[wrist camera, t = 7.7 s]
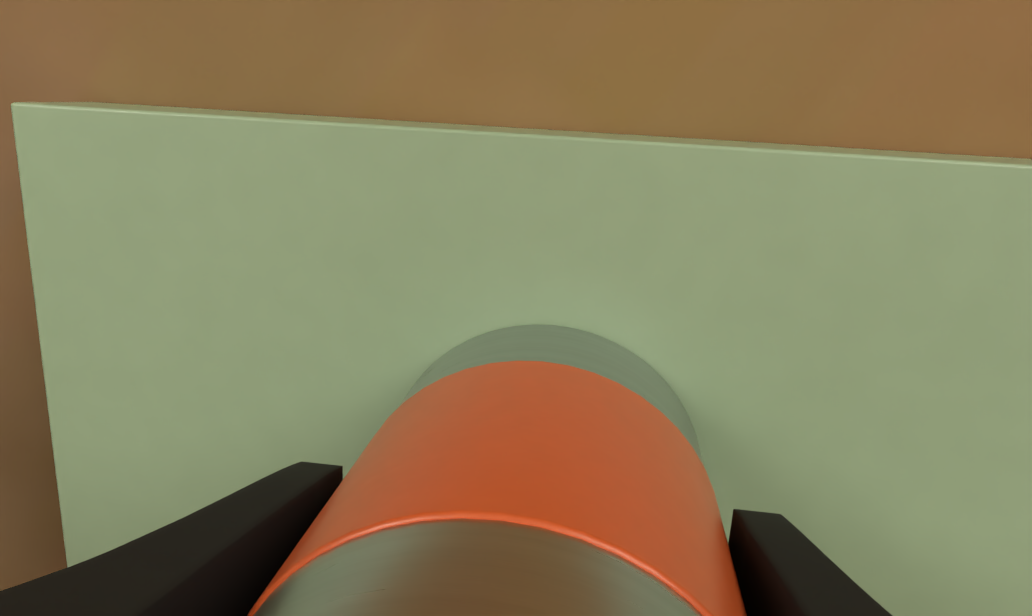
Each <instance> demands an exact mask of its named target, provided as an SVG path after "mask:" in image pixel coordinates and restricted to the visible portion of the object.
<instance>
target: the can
mask: <svg viewBox="0 0 1032 616" xmlns="http://www.w3.org/2000/svg"><path fill="white" fill-rule="evenodd" d="M247 616H747V614H746V610H745V607H744V603H743V599H742V595H741V591H740V588H739V584H738V580H737V576H736V572H735V569H734V565H733V561H732V557H731V553H730V550H729V546H728V542H727V538H726V534H725V531H724V527H723V523H722V519H721V515H720V511H719V508H718V504H717V500H716V496H715V492H714V490H713V487H712V485H711V482H710V480H709V477H708V474H707V472H706V469H705V468H704V464H703V460H702V456H701V452H700V449H699V445H698V441H697V437H696V433H695V431H694V428H693V426H692V423H691V421H690V418H689V416H688V414H687V412H686V410H685V409H684V407H683V405H682V403H681V401H680V400H679V398H678V397H677V395H676V394H675V393H674V391H673V390H672V389H671V387H670V386H669V385H668V384H667V382H666V381H665V380H664V379H663V378H662V377H661V376H660V375H659V374H658V373H657V372H656V371H655V370H654V369H653V368H652V367H651V366H650V365H648V364H647V363H646V362H644V361H643V360H642V359H640V358H639V357H638V356H637V355H635V354H634V353H632V352H630V351H629V350H627V349H625V348H624V347H622V346H620V345H618V344H617V343H615V342H612V341H610V340H608V339H605V338H603V337H601V336H598V335H596V334H593V333H589V332H586V331H582V330H578V329H575V328H569V327H562V326H556V325H522V326H513V327H507V328H503V329H498V330H494V331H490V332H487V333H485V334H482V335H479V336H477V337H474V338H471V339H469V340H467V341H466V342H464V343H462V344H460V345H458V346H456V347H455V348H453V349H451V350H450V351H449V352H447V353H446V354H445V355H443V356H442V357H440V358H439V359H438V360H436V361H435V362H434V363H433V364H432V365H431V366H430V367H429V368H428V369H427V370H426V371H425V372H424V373H423V374H422V376H421V377H420V378H419V380H418V381H417V382H416V383H415V385H414V386H413V387H412V389H411V390H410V391H409V393H408V394H407V396H406V397H405V399H404V400H403V401H402V403H401V404H400V406H399V407H398V409H397V410H395V411H394V412H393V413H392V414H391V415H390V416H389V417H388V419H387V420H386V421H385V422H384V424H383V425H382V426H381V428H380V429H379V430H378V431H377V433H376V434H375V435H374V437H373V438H372V440H371V441H370V442H369V444H368V445H367V447H366V448H365V449H364V451H363V452H362V454H361V455H360V457H359V458H358V459H357V461H356V462H355V464H354V465H353V466H352V468H351V469H350V471H349V472H348V473H347V475H346V476H345V478H344V479H343V480H342V482H341V483H340V485H339V486H338V487H337V489H336V490H335V492H334V493H333V495H332V496H331V497H330V499H329V500H328V502H327V503H326V504H325V506H324V507H323V509H322V510H321V511H320V513H319V514H318V516H317V517H316V518H315V520H314V521H313V523H312V524H311V525H310V527H309V528H308V530H307V531H306V533H305V534H304V535H303V537H302V538H301V540H300V541H299V542H298V544H297V545H296V547H295V548H294V549H293V551H292V552H291V554H290V555H289V556H288V558H287V559H286V561H285V562H284V563H283V565H282V566H281V568H280V569H279V571H278V572H277V573H276V575H275V576H274V578H273V579H272V580H271V582H270V583H269V585H268V586H267V587H266V589H265V590H264V592H263V593H262V594H261V596H260V597H259V599H258V600H257V601H256V603H255V604H254V606H253V607H252V609H251V610H250V611H249V613H248V615H247Z"/></svg>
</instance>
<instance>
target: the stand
mask: <svg viewBox="0 0 1032 616" xmlns="http://www.w3.org/2000/svg"><path fill="white" fill-rule="evenodd" d="M11 111H12V119H13V127H14V135H15V143H16V151H17V160H18V168H19V176H20V184H21V192H22V201H23V209H24V217H25V225H26V233H27V241H28V250H29V258H30V266H31V274H32V282H33V290H34V299H35V307H36V315H37V323H38V331H39V340H40V348H41V356H42V364H43V372H44V380H45V389H46V397H47V405H48V413H49V421H50V429H51V438H52V446H53V454H54V462H55V470H56V478H57V487H58V495H59V503H60V511H61V519H62V528H63V536H64V544H65V552H66V560H67V568H68V567H70V566H73V565H75V564H78V563H81V562H83V561H86V560H88V559H91V558H93V557H96V556H98V555H101V554H103V553H106V552H108V551H110V550H113V549H115V548H117V547H119V546H122V545H124V544H126V543H128V542H130V541H133V540H135V539H137V538H139V537H142V536H144V535H146V534H148V533H150V532H153V531H155V530H157V529H159V528H162V527H164V526H166V525H168V524H170V523H173V522H175V521H177V520H179V519H181V518H184V517H186V516H188V515H190V514H192V513H194V512H196V511H198V510H200V509H202V508H204V507H206V506H208V505H210V504H212V503H214V502H216V501H218V500H220V499H222V498H224V497H226V496H228V495H230V494H232V493H234V492H236V491H238V490H240V489H242V488H244V487H246V486H248V485H250V484H252V483H254V482H256V481H258V480H260V479H262V478H264V477H266V476H268V475H270V474H272V473H275V472H277V471H279V470H281V469H283V468H286V467H288V466H290V465H293V464H296V463H298V462H301V461H302V462H311V463H320V464H329V465H339V466H343V479H344V478H345V476H346V475H347V473H348V472H349V471H350V469H351V468H352V466H353V465H354V464H355V462H356V461H357V459H358V458H359V457H360V455H361V454H362V452H363V451H364V449H365V448H366V447H367V445H368V444H369V442H370V441H371V440H372V438H373V437H374V435H375V434H376V433H377V431H378V430H379V429H380V428H381V426H382V425H383V424H384V422H385V421H386V420H387V419H388V417H389V416H390V415H391V414H392V413H393V412H394V411H395V410H397V409H398V407H399V406H400V404H401V403H402V401H403V400H404V399H405V397H406V396H407V394H408V393H409V391H410V390H411V389H412V387H413V386H414V385H415V383H416V382H417V381H418V380H419V378H420V377H421V376H422V374H423V373H424V372H425V371H426V370H427V369H428V368H429V367H430V366H431V365H432V364H433V363H434V362H435V361H436V360H438V359H439V358H440V357H442V356H443V355H445V354H446V353H447V352H449V351H450V350H451V349H453V348H455V347H456V346H458V345H460V344H462V343H464V342H466V341H467V340H469V339H471V338H474V337H477V336H479V335H482V334H485V333H487V332H490V331H494V330H498V329H503V328H507V327H513V326H522V325H556V326H562V327H569V328H575V329H578V330H582V331H586V332H589V333H593V334H596V335H598V336H601V337H603V338H605V339H608V340H610V341H612V342H615V343H617V344H618V345H620V346H622V347H624V348H625V349H627V350H629V351H630V352H632V353H634V354H635V355H637V356H638V357H639V358H640V359H642V360H643V361H644V362H646V363H647V364H648V365H650V366H651V367H652V368H653V369H654V370H655V371H656V372H657V373H658V374H659V375H660V376H661V377H662V378H663V379H664V380H665V381H666V382H667V384H668V385H669V386H670V387H671V389H672V390H673V391H674V393H675V394H676V395H677V397H678V398H679V400H680V401H681V403H682V405H683V407H684V409H685V410H686V412H687V414H688V416H689V418H690V421H691V423H692V426H693V428H694V431H695V433H696V437H697V441H698V445H699V449H700V452H701V456H702V460H703V464H704V468H705V469H706V472H707V474H708V477H709V480H710V482H711V485H712V487H713V490H714V492H715V496H716V500H717V504H718V508H719V511H720V515H721V519H722V523H723V527H724V531H725V534H726V538H727V542H729V535H730V528H731V522H732V515H733V509H740V510H749V511H758V512H767V513H776V514H781V515H782V516H784V517H785V518H786V519H787V520H788V521H790V522H791V523H792V524H793V525H794V526H795V527H796V528H797V529H798V530H800V531H801V532H802V533H803V534H804V535H805V536H806V537H807V538H808V539H809V540H810V541H811V542H812V543H813V544H814V545H816V546H817V547H818V548H819V549H820V550H821V551H822V552H823V553H824V554H825V555H826V556H827V557H828V558H829V559H830V560H831V561H833V562H834V563H835V564H836V565H837V566H838V567H839V568H840V569H841V570H842V571H843V572H844V573H845V574H846V575H848V576H849V577H850V578H851V579H852V580H853V581H854V582H855V583H856V584H857V585H858V586H860V587H861V588H862V589H863V590H864V591H865V592H866V593H867V594H868V595H870V596H871V597H872V598H873V599H874V600H875V601H876V602H877V603H879V604H880V605H881V606H882V607H883V608H884V609H885V610H887V611H888V612H889V613H890V614H891V615H892V616H1032V159H1023V158H1007V157H990V156H974V155H957V154H941V153H924V152H908V151H891V150H875V149H858V148H842V147H825V146H809V145H792V144H776V143H759V142H743V141H726V140H710V139H693V138H677V137H660V136H644V135H628V134H611V133H595V132H578V131H562V130H545V129H529V128H512V127H496V126H479V125H463V124H446V123H430V122H413V121H397V120H380V119H364V118H347V117H331V116H314V115H298V114H281V113H265V112H248V111H232V110H216V109H199V108H183V107H166V106H150V105H133V104H117V103H100V102H14V103H12V104H11Z"/></svg>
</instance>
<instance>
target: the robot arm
mask: <svg viewBox="0 0 1032 616" xmlns="http://www.w3.org/2000/svg"><path fill="white" fill-rule="evenodd" d="M342 480H343V466H339V465H329V464H320V463H311V462H302V461H301V462H298V463H296V464H293V465H290V466H288V467H286V468H283V469H281V470H279V471H277V472H275V473H272V474H270V475H268V476H266V477H264V478H262V479H260V480H258V481H256V482H254V483H252V484H250V485H248V486H246V487H244V488H242V489H240V490H238V491H236V492H234V493H232V494H230V495H228V496H226V497H224V498H222V499H220V500H218V501H216V502H214V503H212V504H210V505H208V506H206V507H204V508H202V509H200V510H198V511H196V512H194V513H192V514H190V515H188V516H186V517H184V518H181V519H179V520H177V521H175V522H173V523H170V524H168V525H166V526H164V527H162V528H159V529H157V530H155V531H153V532H150V533H148V534H146V535H144V536H142V537H139V538H137V539H135V540H133V541H130V542H128V543H126V544H124V545H122V546H119V547H117V548H115V549H113V550H110V551H108V552H106V553H103V554H101V555H98V556H96V557H93V558H91V559H88V560H86V561H83V562H81V563H78V564H75V565H73V566H70V567H68V568H65V569H62V570H60V571H57V572H54V573H51V574H48V575H46V576H43V577H40V578H37V579H34V580H32V581H29V582H26V583H23V584H21V585H18V586H15V587H12V588H9V589H6V590H3V591H0V616H247V615H248V613H249V611H250V610H251V609H252V607H253V606H254V604H255V603H256V601H257V600H258V599H259V597H260V596H261V594H262V593H263V592H264V590H265V589H266V587H267V586H268V585H269V583H270V582H271V580H272V579H273V578H274V576H275V575H276V573H277V572H278V571H279V569H280V568H281V566H282V565H283V563H284V562H285V561H286V559H287V558H288V556H289V555H290V554H291V552H292V551H293V549H294V548H295V547H296V545H297V544H298V542H299V541H300V540H301V538H302V537H303V535H304V534H305V533H306V531H307V530H308V528H309V527H310V525H311V524H312V523H313V521H314V520H315V518H316V517H317V516H318V514H319V513H320V511H321V510H322V509H323V507H324V506H325V504H326V503H327V502H328V500H329V499H330V497H331V496H332V495H333V493H334V492H335V490H336V489H337V487H338V486H339V485H340V483H341V482H342ZM728 546H729V550H730V553H731V557H732V561H733V565H734V569H735V572H736V576H737V580H738V584H739V588H740V591H741V595H742V599H743V603H744V607H745V610H746V614H747V616H892V615H891V614H890V613H889V612H888V611H887V610H885V609H884V608H883V607H882V606H881V605H880V604H879V603H877V602H876V601H875V600H874V599H873V598H872V597H871V596H870V595H868V594H867V593H866V592H865V591H864V590H863V589H862V588H861V587H860V586H858V585H857V584H856V583H855V582H854V581H853V580H852V579H851V578H850V577H849V576H848V575H846V574H845V573H844V572H843V571H842V570H841V569H840V568H839V567H838V566H837V565H836V564H835V563H834V562H833V561H831V560H830V559H829V558H828V557H827V556H826V555H825V554H824V553H823V552H822V551H821V550H820V549H819V548H818V547H817V546H816V545H814V544H813V543H812V542H811V541H810V540H809V539H808V538H807V537H806V536H805V535H804V534H803V533H802V532H801V531H800V530H798V529H797V528H796V527H795V526H794V525H793V524H792V523H791V522H790V521H788V520H787V519H786V518H785V517H784V516H782V515H781V514H776V513H767V512H758V511H749V510H740V509H733V515H732V522H731V528H730V535H729V542H728Z"/></svg>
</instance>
